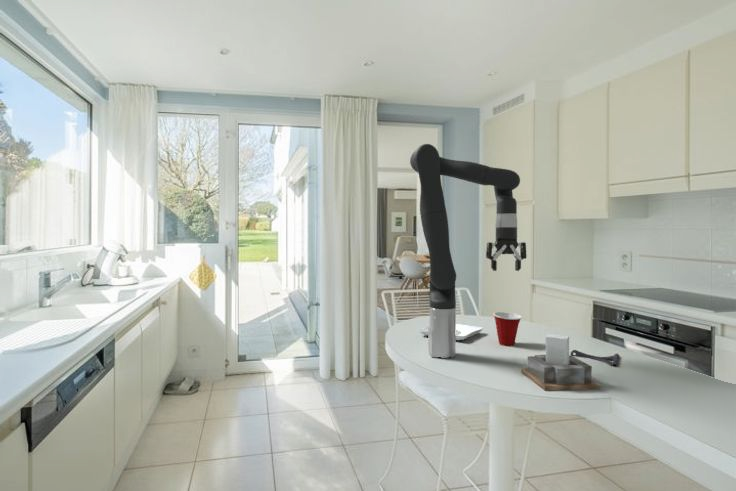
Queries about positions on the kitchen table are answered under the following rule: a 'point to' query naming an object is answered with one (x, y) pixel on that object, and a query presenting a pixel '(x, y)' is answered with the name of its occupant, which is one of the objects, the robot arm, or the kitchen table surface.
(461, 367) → the kitchen table surface
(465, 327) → the salad plate
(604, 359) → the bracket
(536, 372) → the holder
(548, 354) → the skincare box
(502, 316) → the plastic cup
